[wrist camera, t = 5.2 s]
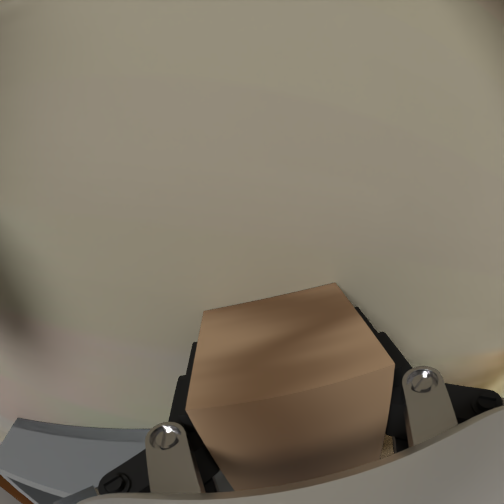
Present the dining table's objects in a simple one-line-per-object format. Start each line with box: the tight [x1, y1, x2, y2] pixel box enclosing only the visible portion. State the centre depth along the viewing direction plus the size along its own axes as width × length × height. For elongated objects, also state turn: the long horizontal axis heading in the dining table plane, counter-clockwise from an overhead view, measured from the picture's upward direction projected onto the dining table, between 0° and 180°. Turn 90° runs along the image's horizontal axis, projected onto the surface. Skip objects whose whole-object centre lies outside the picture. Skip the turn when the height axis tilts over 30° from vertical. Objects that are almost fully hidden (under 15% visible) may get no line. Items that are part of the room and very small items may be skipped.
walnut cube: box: [185, 283, 395, 491], centre depth 9 cm, size 5×5×5 cm
